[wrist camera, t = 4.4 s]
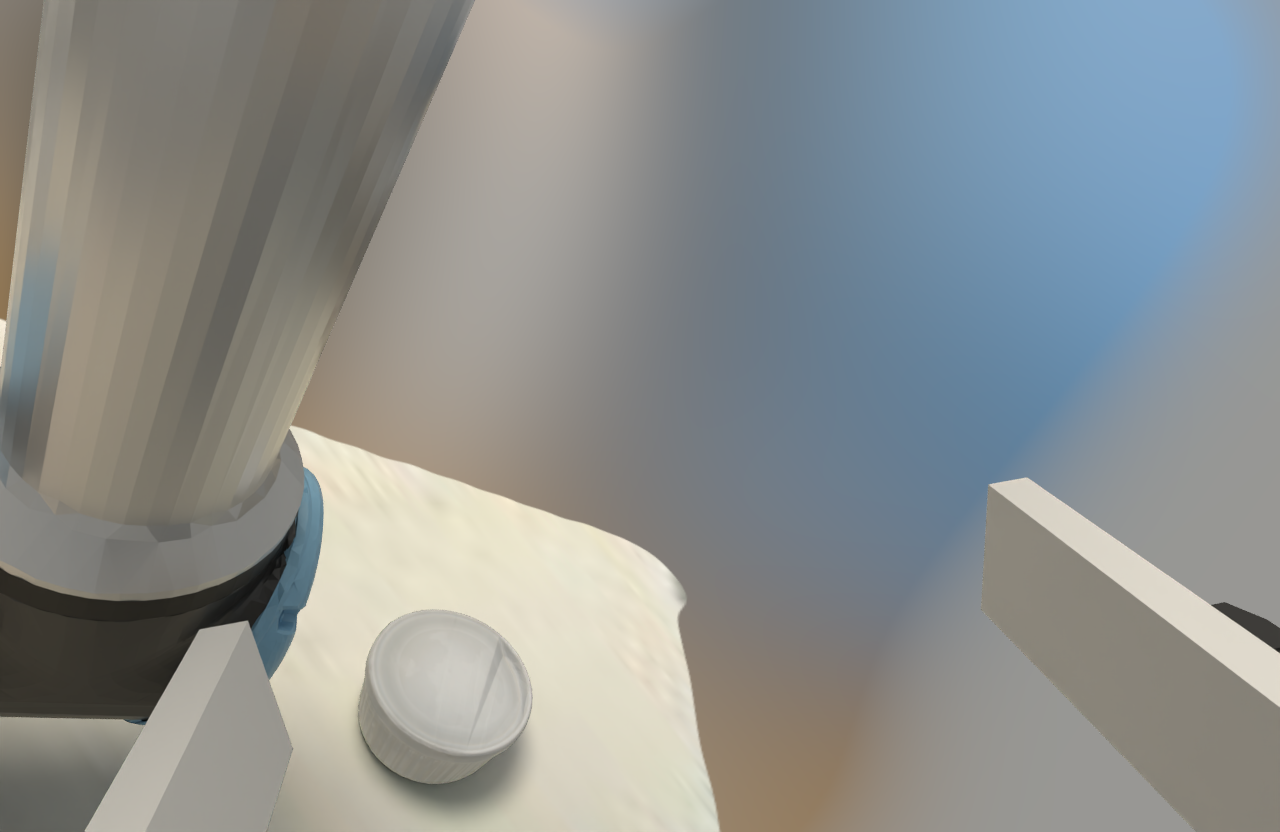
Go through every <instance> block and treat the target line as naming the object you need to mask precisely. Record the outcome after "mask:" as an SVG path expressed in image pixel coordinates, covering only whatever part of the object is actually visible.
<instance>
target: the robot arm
mask: <svg viewBox="0 0 1280 832" xmlns="http://www.w3.org/2000/svg"><path fill="white" fill-rule="evenodd" d="M474 1H475V0H44V4H43V13H42V21H41V30H40V38H39V48H38V55H37V64H36V72H35V81H34V89H33V98H32V107H31V115H30V124H29V132H28V141H27V149H26V159H25V167H24V176H23V184H22V192H21V201H20V209H19V218H18V227H17V235H16V244H15V252H14V261H13V270H12V278H11V287H10V295H9V304H8V312H7V321H6V329H5V338H4V347H3V355H2V364H1V367H0V717H36V718H81V719H123V720H125V721H127V722H130V723H134V724H139V725H145V726H144V728H143V729H142V731H141V733H140V735H139V736H138V738H137V740H136V742H135V744H134V745H133V747H132V749H131V751H130V752H129V754H128V756H127V758H126V759H125V761H124V763H123V765H122V766H121V768H120V770H119V772H118V773H117V775H116V777H115V779H114V780H113V782H112V784H111V786H110V787H109V789H108V791H107V793H106V794H105V796H104V798H103V800H102V801H101V803H100V805H99V807H98V808H97V810H96V812H95V814H94V815H93V817H92V819H91V821H90V822H89V824H88V826H87V828H86V829H85V831H84V832H267V829H268V826H269V822H270V819H271V816H272V813H273V810H274V807H275V804H276V800H277V797H278V794H279V791H280V788H281V785H282V782H283V778H284V775H285V772H286V769H287V766H288V763H289V760H290V756H291V753H292V750H293V748H292V745H291V742H290V739H289V736H288V733H287V730H286V728H285V725H284V722H283V719H282V716H281V713H280V711H279V708H278V705H277V702H276V699H275V696H274V693H273V691H272V688H271V685H270V682H269V680H270V679H271V677H272V676H273V674H274V672H275V671H276V670H277V668H278V667H279V665H280V663H281V662H282V660H283V658H284V656H285V654H286V652H287V650H288V648H289V646H290V644H291V642H292V640H293V638H294V634H295V631H296V623H297V614H298V612H299V611H300V610H301V609H302V608H304V607H305V606H306V603H307V600H308V597H309V594H310V591H311V588H312V584H313V581H314V577H315V573H316V569H317V564H318V559H319V554H320V548H321V542H322V531H323V497H322V492H321V488H320V485H319V483H318V481H317V479H316V477H315V476H314V475H313V474H312V473H311V472H310V471H309V470H308V469H306V468H304V467H303V463H302V458H301V454H300V451H299V447H298V444H297V442H296V440H295V438H294V437H293V435H292V433H291V431H290V429H289V428H290V426H291V423H292V421H293V419H294V416H295V414H296V412H297V409H298V407H299V405H300V403H301V400H302V398H303V396H304V393H305V391H306V389H307V386H308V384H309V382H310V379H311V377H312V374H313V372H314V370H315V368H316V366H317V363H318V361H319V358H320V356H321V354H322V351H323V350H324V347H325V345H326V343H327V340H328V338H329V336H330V333H331V331H332V329H333V326H334V324H335V322H336V320H337V317H338V315H339V313H340V310H341V308H342V306H343V303H344V301H345V299H346V296H347V294H348V292H349V290H350V287H351V285H352V282H353V280H354V278H355V275H356V273H357V271H358V269H359V267H360V264H361V262H362V260H363V257H364V255H365V253H366V250H367V248H368V246H369V243H370V241H371V239H372V237H373V234H374V232H375V230H376V227H377V225H378V223H379V220H380V218H381V216H382V213H383V211H384V209H385V206H386V204H387V202H388V199H389V197H390V195H391V193H392V190H393V188H394V186H395V184H396V181H397V179H398V177H399V174H400V172H401V170H402V167H403V165H404V163H405V161H406V158H407V156H408V154H409V151H410V149H411V147H412V144H413V142H414V140H415V137H416V135H417V133H418V131H419V128H420V126H421V123H422V121H423V119H424V117H425V114H426V112H427V110H428V107H429V105H430V103H431V101H432V98H433V96H434V94H435V91H436V89H437V87H438V84H439V82H440V80H441V77H442V75H443V73H444V71H445V68H446V66H447V64H448V61H449V59H450V57H451V54H452V52H453V50H454V47H455V45H456V43H457V41H458V38H459V36H460V34H461V31H462V29H463V27H464V25H465V22H466V20H467V17H468V15H469V13H470V11H471V8H472V6H473V4H474ZM984 552H985V553H984V569H983V585H982V602H981V603H982V604H981V610H982V611H983V612H984V613H985V614H986V615H987V616H988V617H989V618H990V619H991V620H992V621H993V622H994V624H995V625H997V627H998V628H999V629H1000V630H1001V631H1002V632H1003V633H1004V634H1005V635H1006V636H1007V637H1008V638H1009V639H1010V640H1011V641H1012V642H1013V643H1014V644H1015V645H1016V646H1017V647H1018V648H1019V649H1020V650H1021V651H1022V652H1023V654H1024V655H1025V656H1027V658H1028V659H1029V660H1030V661H1031V662H1032V663H1033V664H1034V665H1035V666H1036V667H1037V668H1038V669H1039V670H1040V671H1041V672H1042V673H1043V674H1044V675H1045V676H1046V677H1047V678H1048V679H1049V680H1050V681H1051V682H1052V683H1053V685H1054V686H1055V687H1056V688H1057V689H1058V690H1059V691H1060V692H1061V693H1062V694H1063V695H1064V696H1065V697H1066V698H1067V699H1068V700H1069V701H1070V702H1071V703H1072V704H1073V705H1074V706H1075V707H1076V708H1077V709H1078V710H1079V711H1080V712H1081V713H1082V715H1084V716H1085V718H1086V719H1087V720H1088V721H1089V722H1090V723H1091V724H1092V725H1093V726H1094V727H1095V728H1096V729H1097V730H1098V731H1099V732H1100V733H1101V734H1102V735H1103V736H1104V737H1105V738H1106V739H1107V740H1108V741H1109V742H1110V743H1111V744H1112V745H1113V746H1114V747H1115V749H1116V750H1117V751H1118V752H1119V753H1120V754H1121V755H1122V756H1123V757H1124V758H1125V759H1126V760H1127V761H1128V762H1129V763H1130V764H1131V765H1132V766H1133V767H1134V768H1135V769H1136V770H1137V771H1138V772H1139V773H1140V774H1141V775H1142V777H1143V778H1144V779H1145V780H1146V781H1147V782H1148V783H1149V784H1150V785H1151V786H1152V787H1153V788H1154V789H1155V790H1156V791H1157V792H1158V793H1159V794H1160V795H1161V796H1162V797H1163V798H1164V799H1165V800H1166V801H1167V802H1168V803H1169V804H1170V805H1171V806H1172V808H1173V809H1175V811H1176V812H1177V813H1178V814H1179V815H1180V816H1181V817H1182V818H1183V819H1184V820H1185V821H1186V822H1187V823H1188V824H1189V825H1190V826H1191V827H1192V828H1193V829H1194V830H1195V831H1196V832H1280V628H1279V627H1277V626H1276V625H1274V624H1273V623H1271V622H1270V621H1268V620H1266V619H1264V618H1262V617H1259V616H1256V615H1254V614H1252V613H1249V612H1247V611H1245V610H1242V609H1239V608H1237V607H1235V606H1233V605H1230V604H1228V603H1225V602H1224V603H1219V604H1214V605H1210V604H1208V603H1207V602H1205V601H1204V600H1203V599H1201V598H1200V597H1198V596H1196V595H1195V594H1194V593H1192V592H1191V591H1190V590H1188V589H1187V588H1185V587H1184V586H1182V585H1181V584H1179V583H1178V582H1177V581H1175V580H1174V579H1172V578H1171V577H1169V576H1168V575H1167V574H1165V573H1164V572H1162V571H1161V570H1159V569H1158V568H1156V567H1155V566H1153V565H1152V564H1150V563H1149V562H1148V561H1146V560H1145V559H1143V558H1142V557H1141V556H1139V555H1138V554H1136V553H1135V552H1133V551H1132V550H1130V549H1129V548H1127V547H1126V546H1125V545H1123V544H1122V543H1120V542H1119V541H1118V540H1116V539H1115V538H1113V537H1112V536H1110V535H1109V534H1108V533H1106V532H1105V531H1103V530H1102V529H1100V528H1099V527H1097V526H1096V525H1095V524H1093V523H1092V522H1090V521H1089V520H1087V519H1086V518H1084V517H1083V516H1082V515H1080V514H1079V513H1077V512H1076V511H1074V510H1073V509H1072V508H1070V507H1069V506H1067V505H1066V504H1064V503H1063V502H1061V501H1060V500H1059V499H1057V498H1056V497H1054V496H1053V495H1051V494H1050V493H1048V492H1047V491H1046V490H1044V489H1043V488H1041V487H1040V486H1039V485H1037V484H1036V483H1034V482H1033V481H1031V480H1030V479H1028V478H1022V479H1016V480H1011V481H1005V482H1000V483H994V484H989V485H988V501H987V517H986V534H985V551H984Z"/></svg>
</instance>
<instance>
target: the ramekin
mask: <svg viewBox="0 0 1280 832" xmlns="http://www.w3.org/2000/svg"><path fill="white" fill-rule="evenodd" d="M358 709H359V712H358V716H359V724H360V727H361V730H362V734H363V736H364V738H365V741H366V743H367V744H368V745H369V747H370V749H371V751H372V752H373V753H374V754H375V756H376V757H377V758H378V759H379V760H380V761H381V762H382V763H383V764H384V765H385V766H387V767H388V768H389V769H390V770H392V771H394V772H395V773H397V774H399V775H400V776H403V777H405V778H408V779H410V780H414V781H417V782H420V783H427V784H442V783H450V782H454V781H458V780H460V779H463V778H466V777H467V776H469V775H470V774H473V773H475V772H476V771H477V770H479V769H480V768H481V767H482V766H483V765H485V764H486V763H487V762H488V761H489V760H491V759H492V758H493V757H495V756H497V755H499V754H500V753H502V752H504V751H505V750H506V749H508V748H509V747H510V746H511V745H512V744H513V743H514V742H515V741H516V740H517V738H518V737H519V736H520V734H521V733H522V731H523V730H524V728H525V726H526V724H527V722H528V719H529V716H530V713H531V709H532V688H531V683H530V679H529V676H528V673H527V670H526V668H525V666H524V664H523V662H522V660H521V658H520V657H519V655H518V654H517V652H516V651H515V650H514V648H513V647H512V646H511V645H510V644H509V643H508V641H507V640H506V639H505V638H503V637H502V636H501V635H500V634H499V633H498V632H496V631H495V630H494V629H492V628H491V627H489V626H488V625H486V624H484V623H483V622H481V621H479V620H477V619H475V618H472V617H470V616H467V615H464V614H461V613H457V612H452V611H446V610H421V611H416V612H412V613H409V614H406V615H403V616H401V617H399V618H398V619H396V620H394V621H392V622H390V623H389V624H388V625H387V626H386V627H385V628H384V629H383V630H382V631H381V633H380V634H379V635H378V637H377V638H376V640H375V641H374V643H373V645H372V647H371V649H370V651H369V654H368V657H367V661H366V668H365V678H364V683H363V687H362V690H361V694H360V701H359V705H358Z"/></svg>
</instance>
